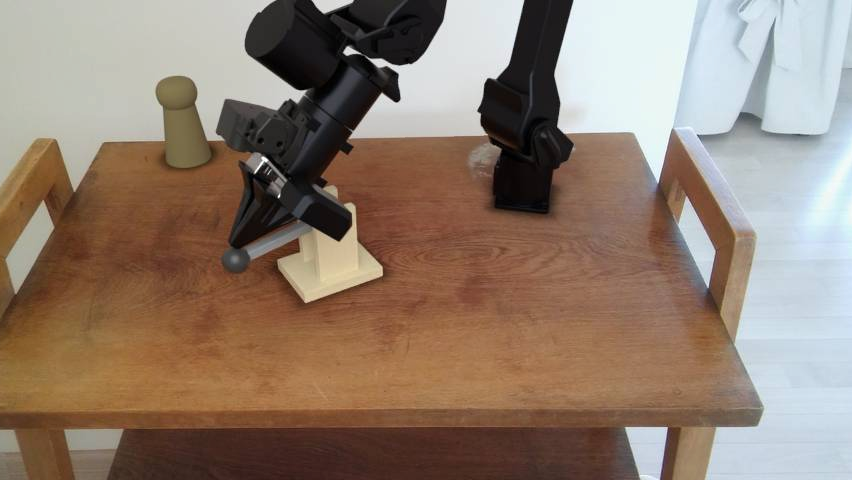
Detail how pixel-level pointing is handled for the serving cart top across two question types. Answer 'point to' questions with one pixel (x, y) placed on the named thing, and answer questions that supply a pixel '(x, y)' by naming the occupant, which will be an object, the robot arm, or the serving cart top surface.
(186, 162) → the olive pawn
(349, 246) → the switch bracket
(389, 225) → the serving cart top surface
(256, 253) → the switch lever
